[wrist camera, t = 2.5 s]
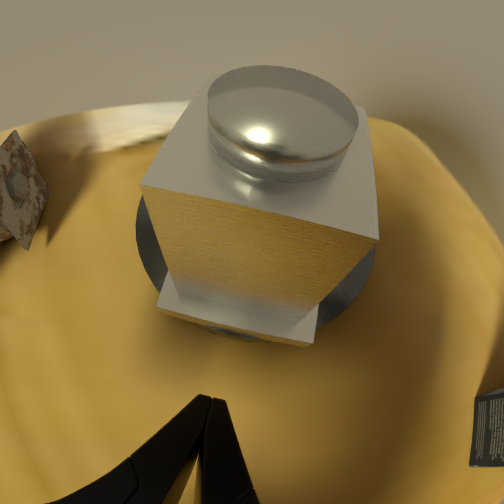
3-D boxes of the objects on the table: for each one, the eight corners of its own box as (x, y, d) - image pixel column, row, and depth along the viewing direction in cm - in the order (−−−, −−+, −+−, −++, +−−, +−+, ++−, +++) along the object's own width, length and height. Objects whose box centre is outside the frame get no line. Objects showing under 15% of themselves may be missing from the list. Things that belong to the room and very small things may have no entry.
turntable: (353, 365, 16) (369, 360, 14) (110, 307, 16) (96, 295, 14) (360, 179, 23) (370, 162, 21) (187, 139, 23) (186, 119, 21)
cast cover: (306, 347, 14) (439, 255, 5) (160, 313, 14) (77, 172, 5) (321, 224, 17) (393, 81, 8) (201, 197, 18) (198, 37, 9)
